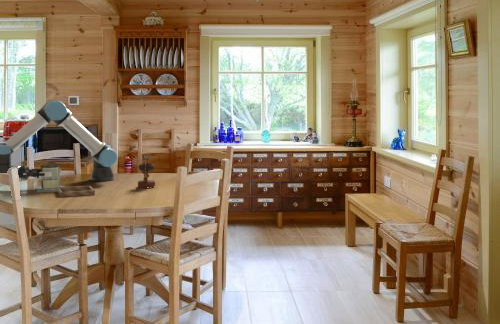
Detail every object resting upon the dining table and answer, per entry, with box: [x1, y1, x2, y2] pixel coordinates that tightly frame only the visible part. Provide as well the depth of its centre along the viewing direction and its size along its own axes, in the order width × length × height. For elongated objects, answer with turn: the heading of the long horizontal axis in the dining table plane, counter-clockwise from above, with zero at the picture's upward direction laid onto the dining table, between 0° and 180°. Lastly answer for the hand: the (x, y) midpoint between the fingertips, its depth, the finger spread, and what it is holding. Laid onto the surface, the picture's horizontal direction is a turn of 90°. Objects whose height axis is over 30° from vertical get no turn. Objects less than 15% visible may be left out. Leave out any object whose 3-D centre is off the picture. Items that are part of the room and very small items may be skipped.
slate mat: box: [35, 185, 66, 194], centre depth 300 cm, size 16×16×1 cm
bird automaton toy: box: [137, 154, 156, 189], centre depth 312 cm, size 15×11×20 cm
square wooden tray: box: [57, 185, 96, 198], centre depth 289 cm, size 18×18×2 cm
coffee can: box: [39, 163, 61, 190], centre depth 299 cm, size 10×10×14 cm
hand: (56, 172), depth 299 cm, fingers open, 13 cm apart
